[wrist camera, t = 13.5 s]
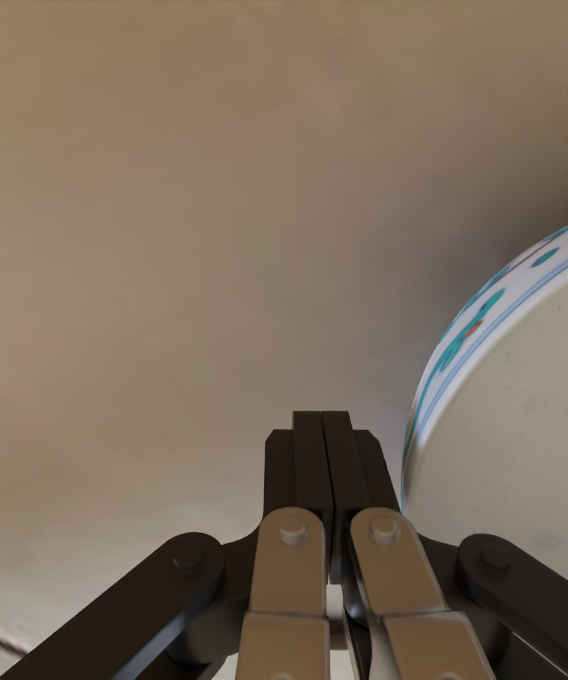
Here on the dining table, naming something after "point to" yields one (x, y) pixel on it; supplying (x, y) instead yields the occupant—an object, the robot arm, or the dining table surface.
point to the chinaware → (498, 415)
